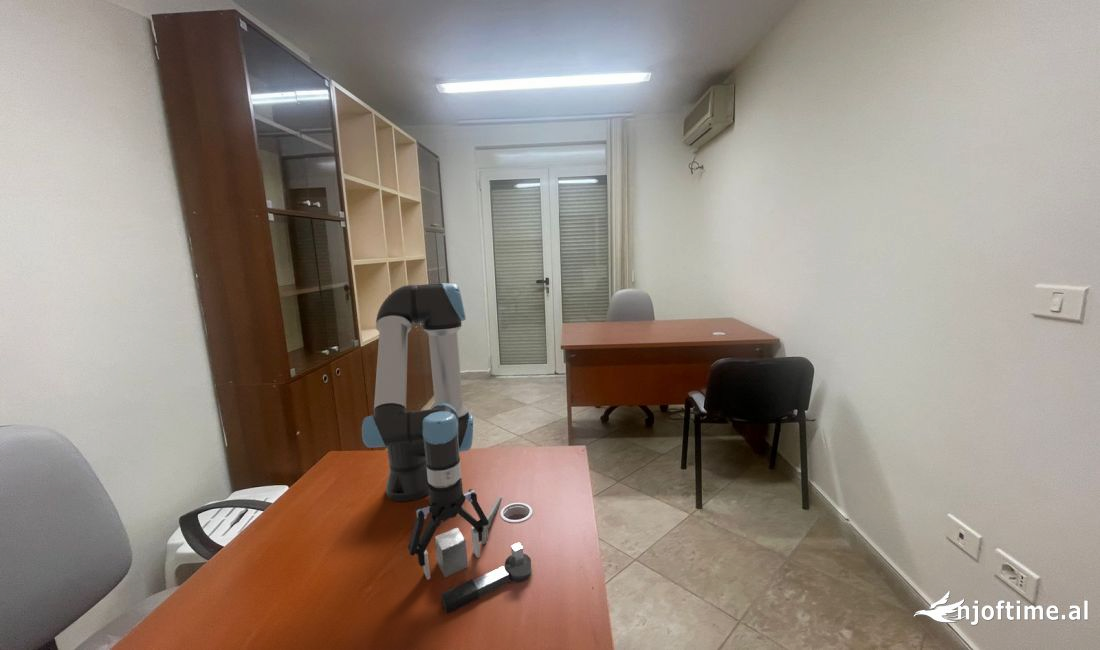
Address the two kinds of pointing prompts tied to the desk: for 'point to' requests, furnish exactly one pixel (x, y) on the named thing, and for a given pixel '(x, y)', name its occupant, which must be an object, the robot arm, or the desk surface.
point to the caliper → (489, 518)
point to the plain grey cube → (451, 552)
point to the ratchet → (489, 580)
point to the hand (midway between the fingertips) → (452, 564)
